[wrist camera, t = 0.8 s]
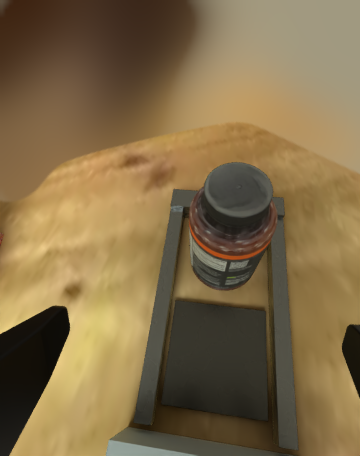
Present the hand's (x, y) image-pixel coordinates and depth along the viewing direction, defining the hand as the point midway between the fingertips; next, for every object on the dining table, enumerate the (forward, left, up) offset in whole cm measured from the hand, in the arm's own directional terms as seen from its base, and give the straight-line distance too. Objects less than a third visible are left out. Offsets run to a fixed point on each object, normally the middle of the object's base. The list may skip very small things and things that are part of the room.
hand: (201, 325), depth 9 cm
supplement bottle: (+7, -6, -15) cm, 17 cm away
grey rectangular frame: (+3, -4, -15) cm, 15 cm away
